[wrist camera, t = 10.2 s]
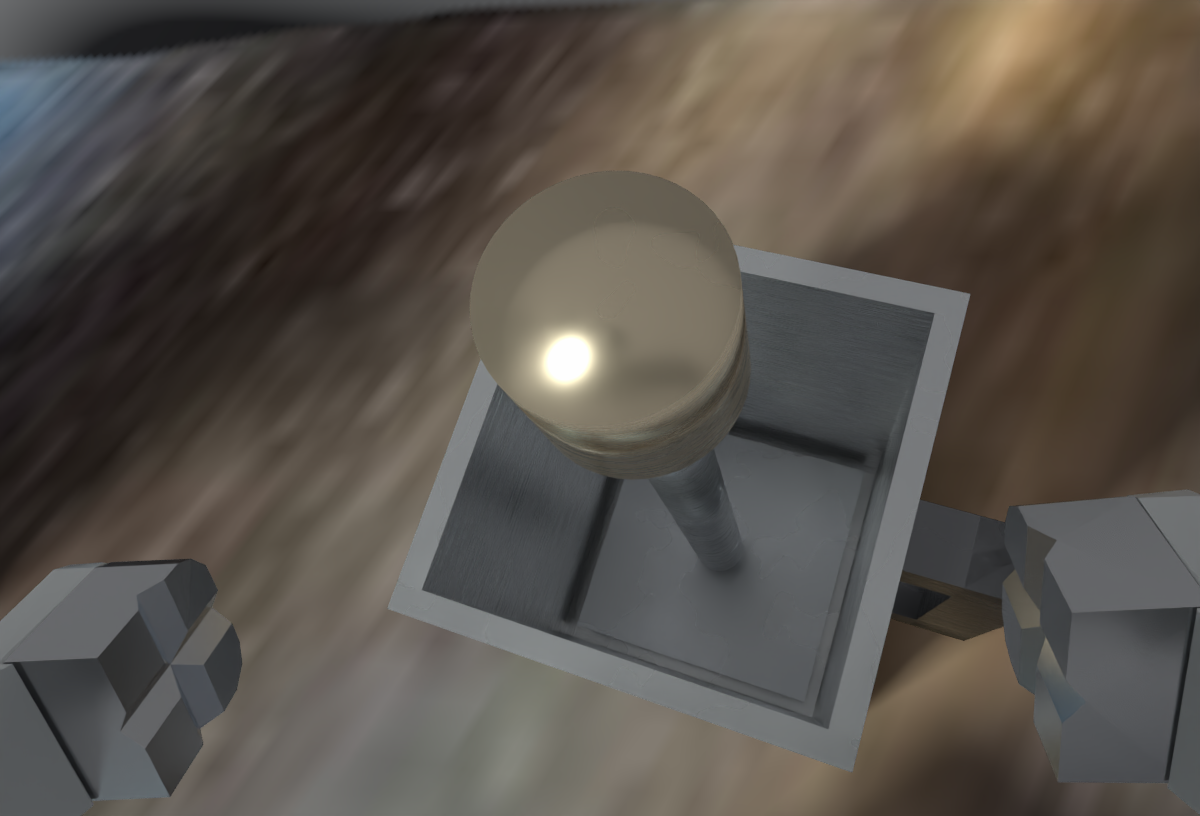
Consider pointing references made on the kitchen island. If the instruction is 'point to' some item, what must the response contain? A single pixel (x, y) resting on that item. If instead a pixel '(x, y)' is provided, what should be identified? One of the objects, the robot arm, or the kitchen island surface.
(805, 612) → the plunger
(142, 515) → the kitchen island surface
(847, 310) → the press
